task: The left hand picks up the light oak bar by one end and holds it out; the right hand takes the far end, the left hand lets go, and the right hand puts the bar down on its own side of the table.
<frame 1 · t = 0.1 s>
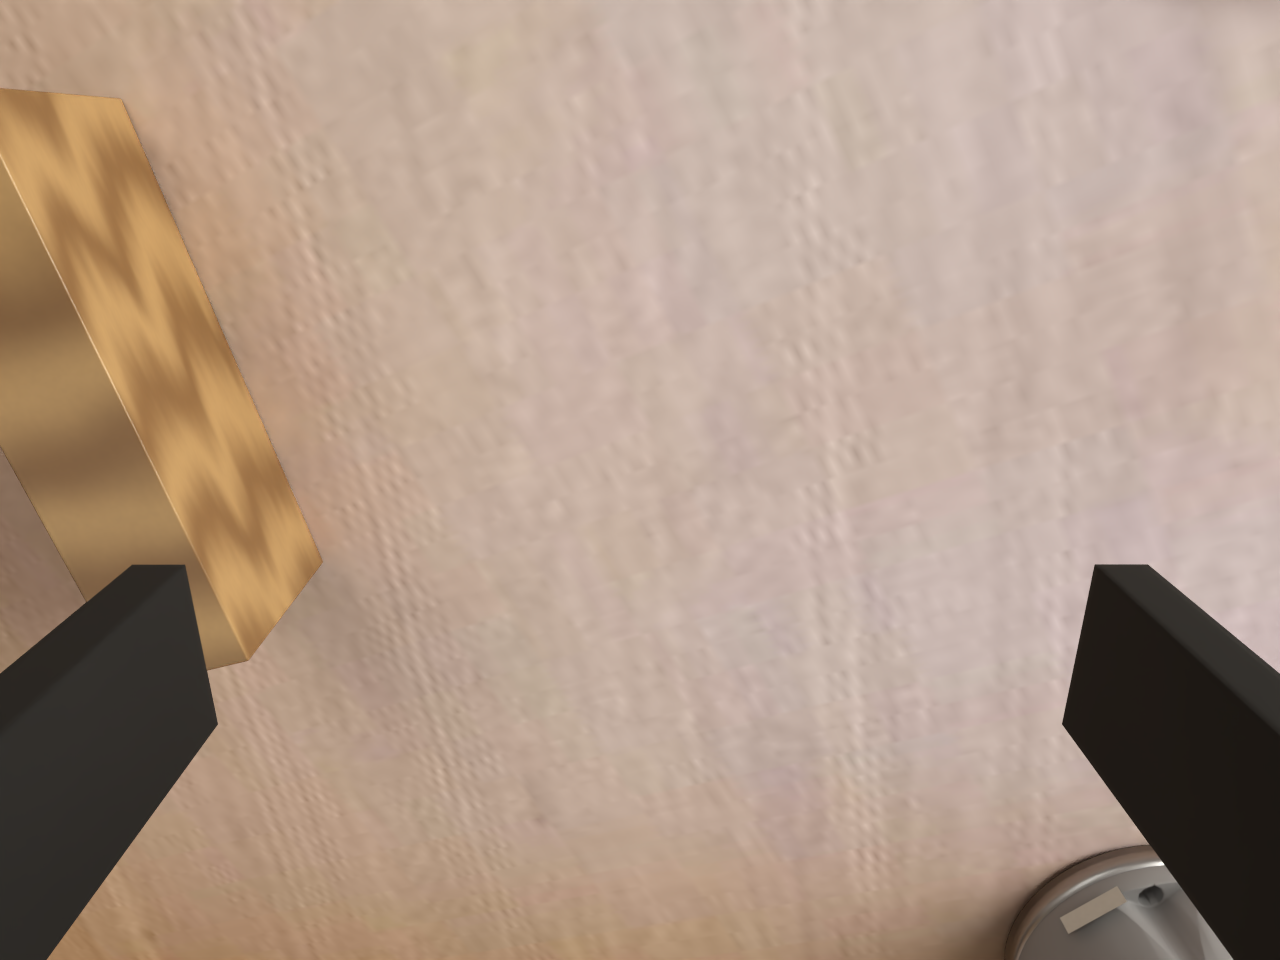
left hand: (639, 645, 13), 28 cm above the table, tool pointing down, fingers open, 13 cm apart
bar: (180, 366, 40), on the table
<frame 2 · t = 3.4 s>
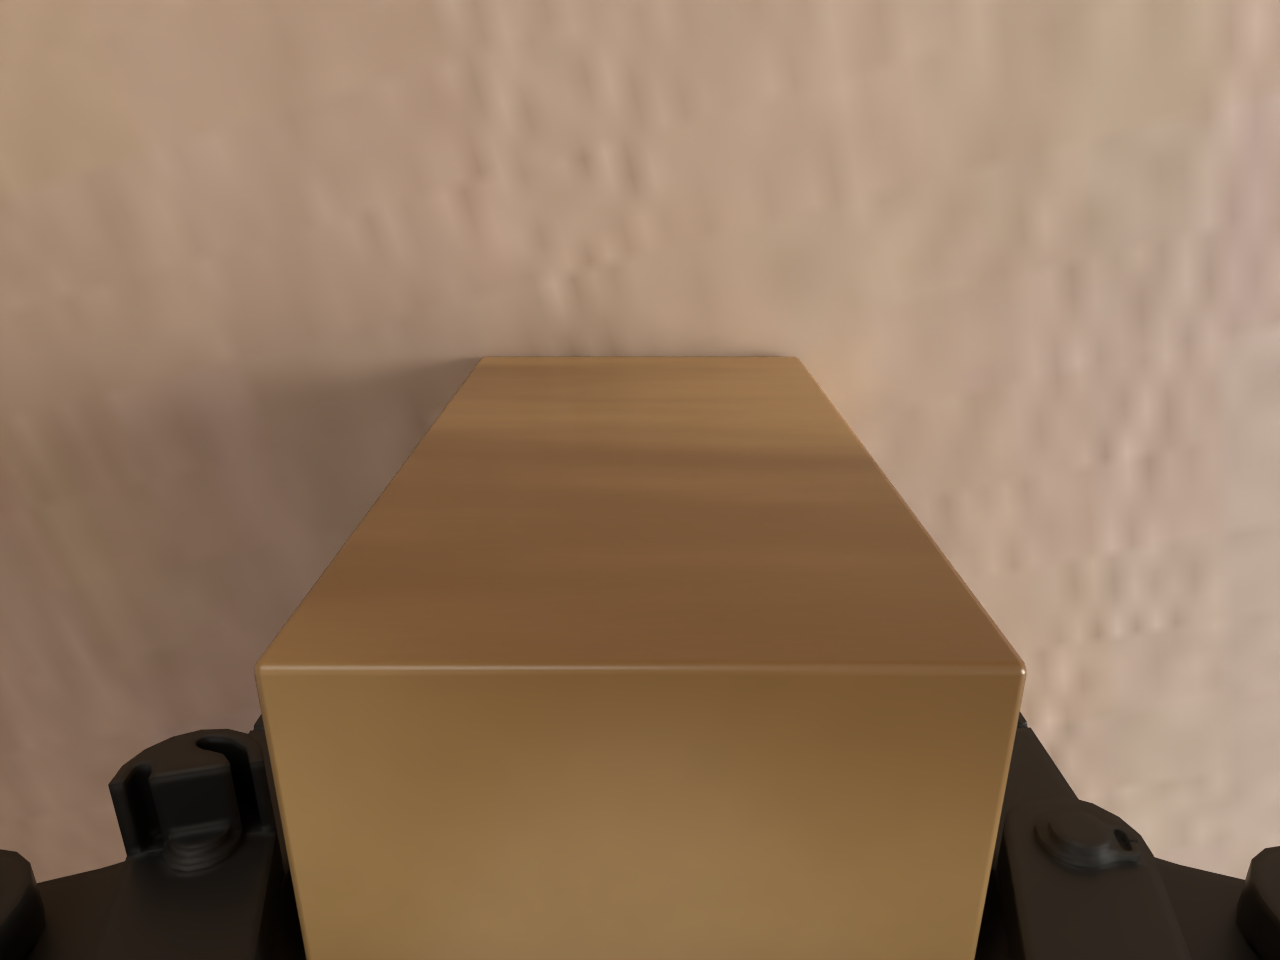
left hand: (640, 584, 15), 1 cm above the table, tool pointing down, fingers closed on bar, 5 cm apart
bar: (640, 884, 18), on the table, touching left hand
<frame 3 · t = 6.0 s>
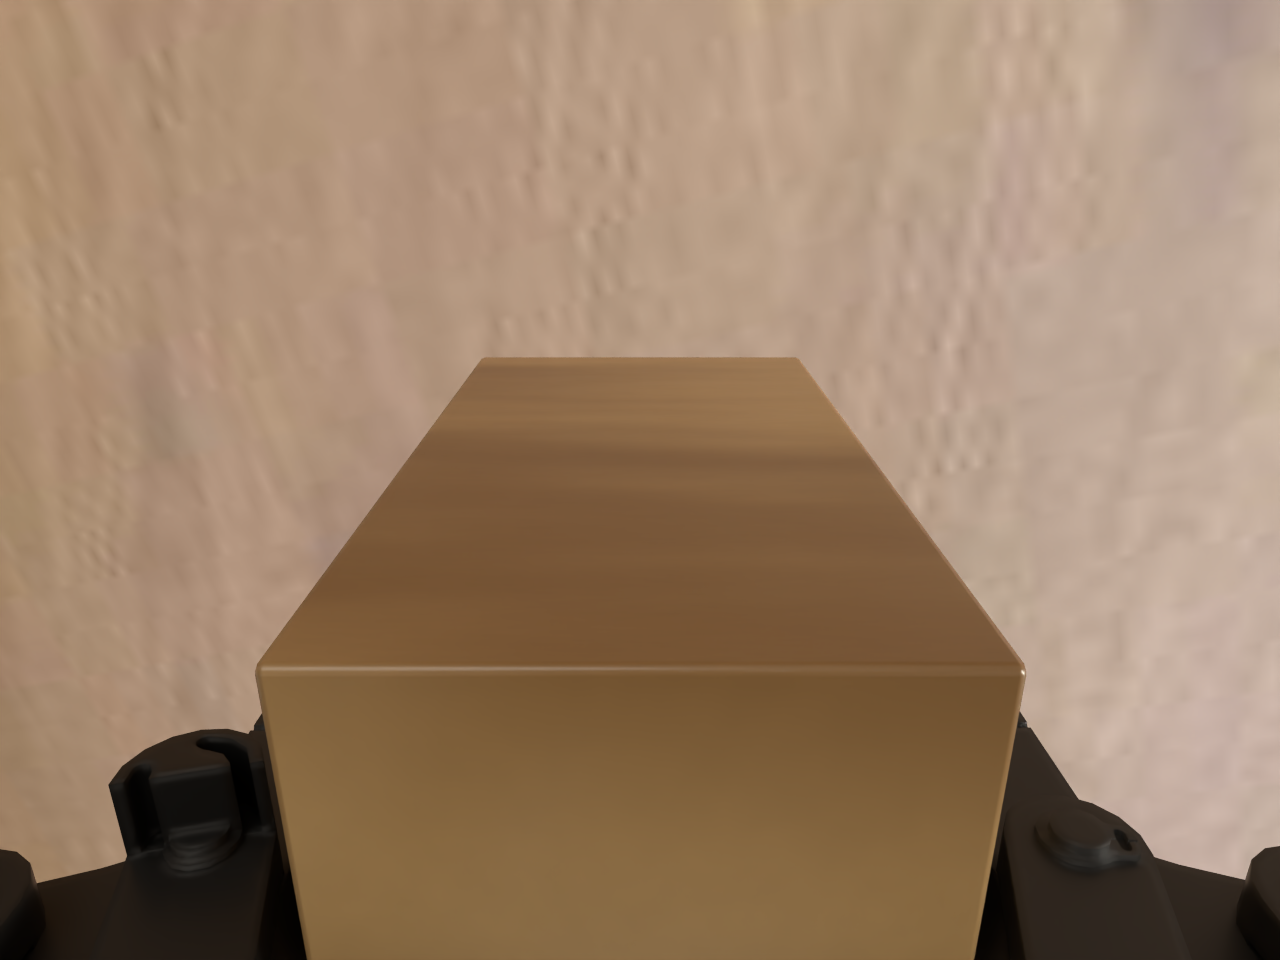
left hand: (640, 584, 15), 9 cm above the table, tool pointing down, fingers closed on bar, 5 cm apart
bar: (640, 884, 18), point 9 cm above the table, touching left hand
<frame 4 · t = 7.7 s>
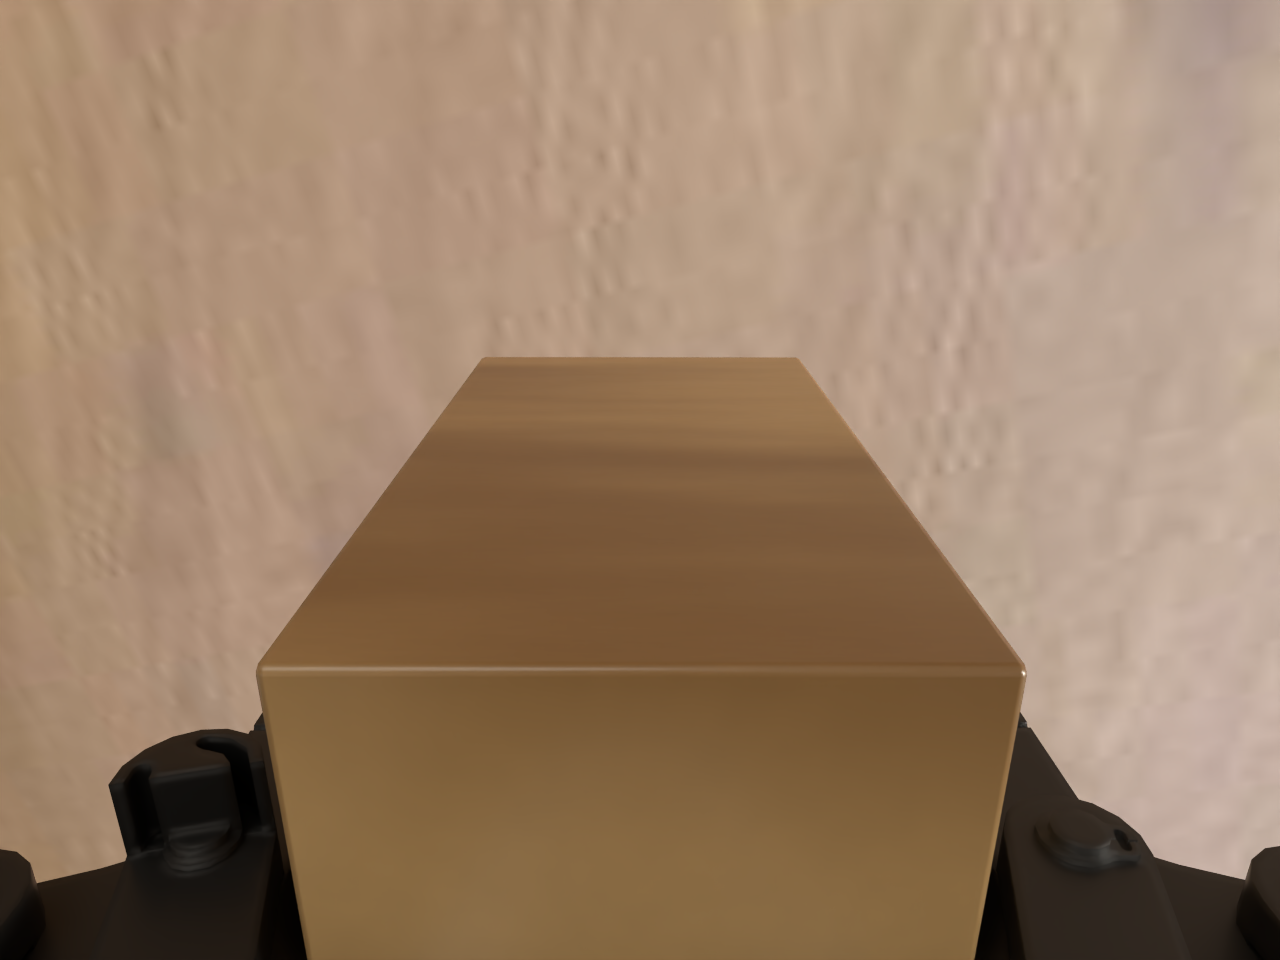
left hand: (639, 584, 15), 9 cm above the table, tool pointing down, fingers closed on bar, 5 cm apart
bar: (639, 884, 18), point 9 cm above the table, touching left hand, right hand
when the left hand's fingers open (9 cm above the table, at t = 8.5 s): bar stays where it is, held by the right hand.
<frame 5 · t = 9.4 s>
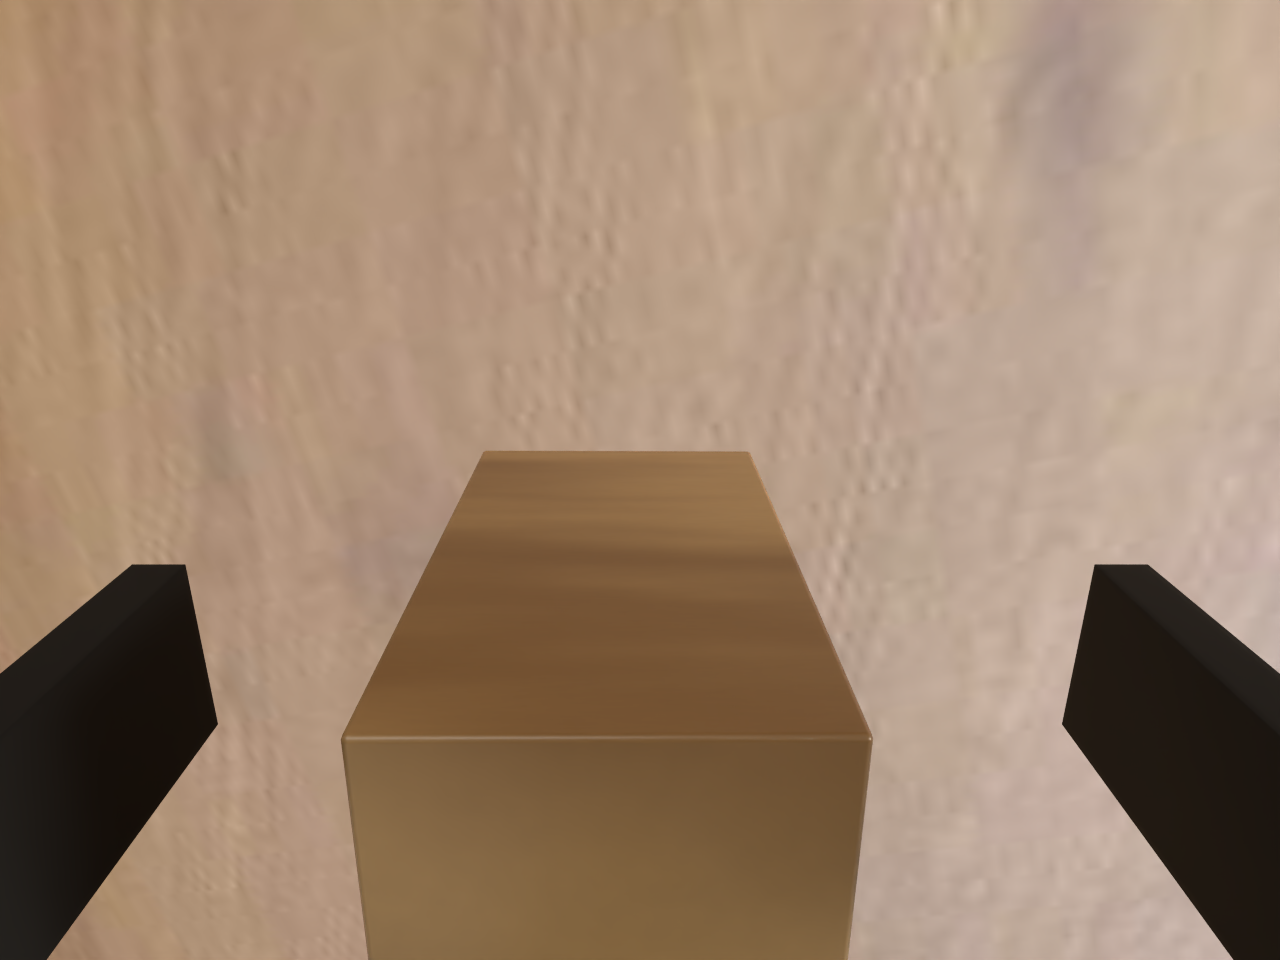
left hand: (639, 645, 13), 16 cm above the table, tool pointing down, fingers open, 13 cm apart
bar: (617, 900, 20), point 11 cm above the table, touching right hand
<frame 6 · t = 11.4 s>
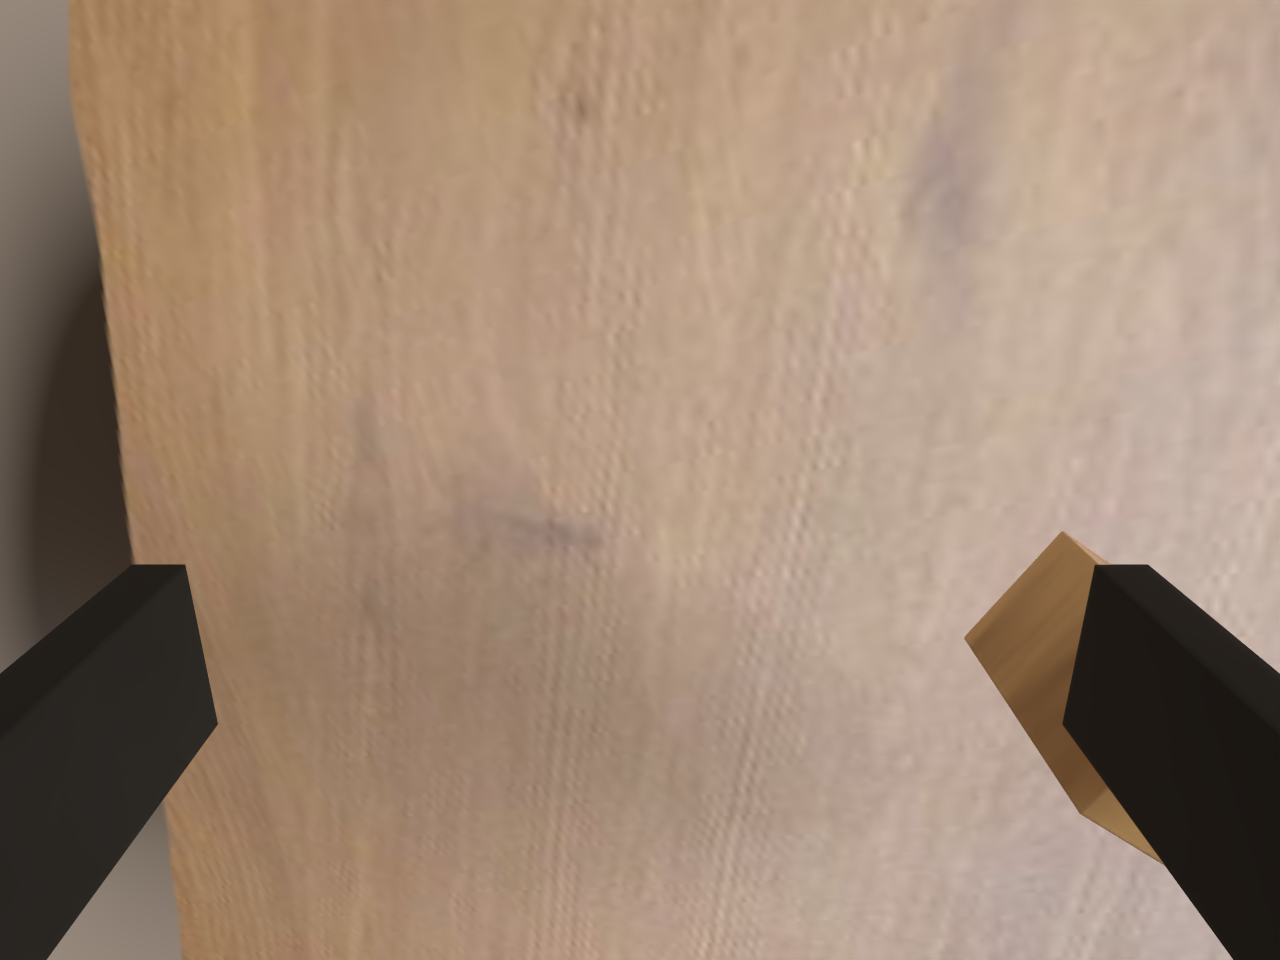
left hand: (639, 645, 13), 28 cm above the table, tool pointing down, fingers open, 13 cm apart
bar: (1228, 730, 33), point 12 cm above the table, touching right hand
when the right hand's fingers open (2 cm above the table, at t = 12.7 s): bar drops 2 cm, on the table.
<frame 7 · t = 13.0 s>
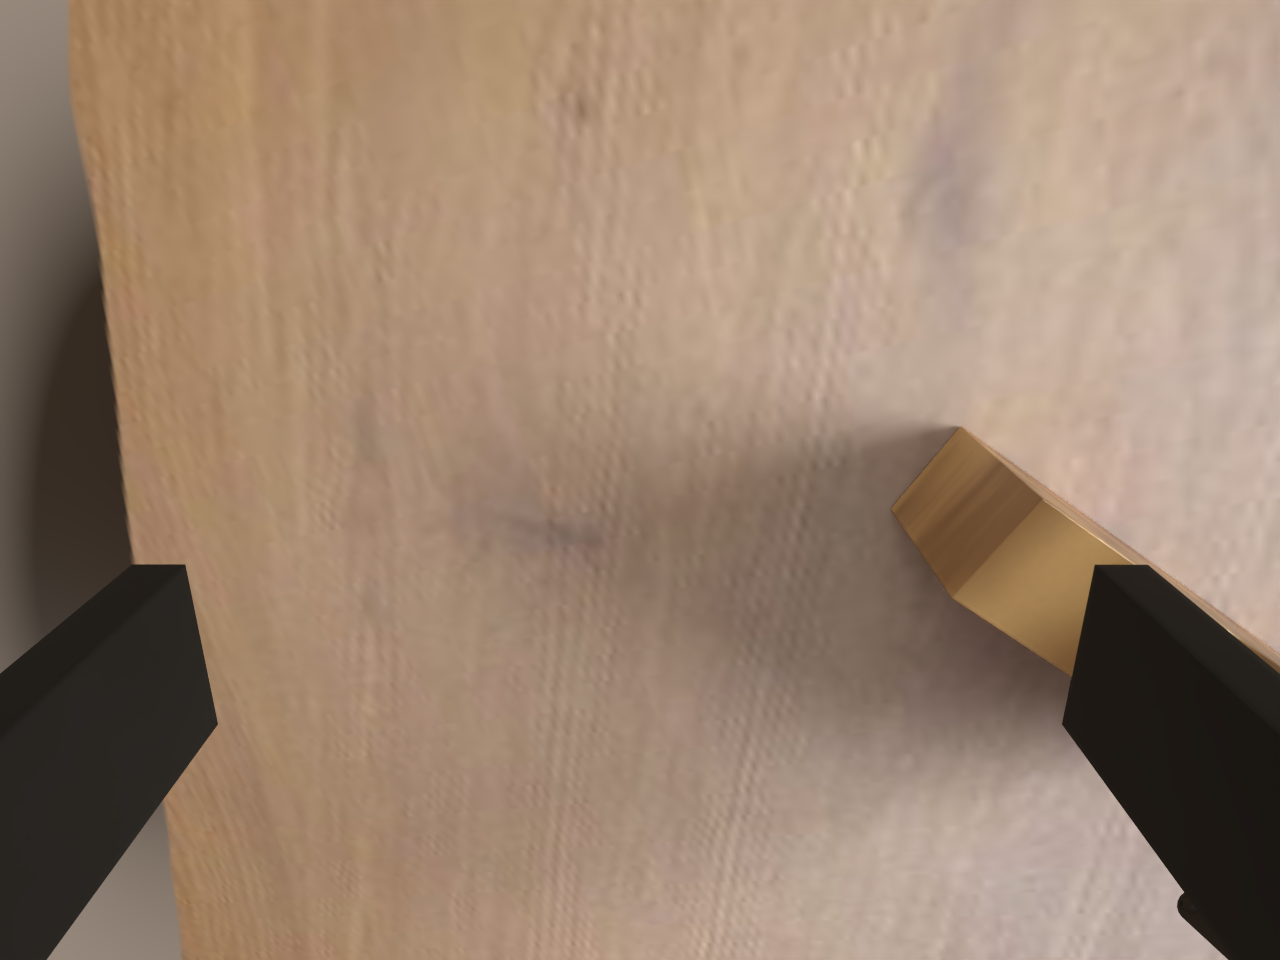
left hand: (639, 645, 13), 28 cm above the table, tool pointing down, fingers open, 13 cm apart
bar: (1091, 584, 44), on the table
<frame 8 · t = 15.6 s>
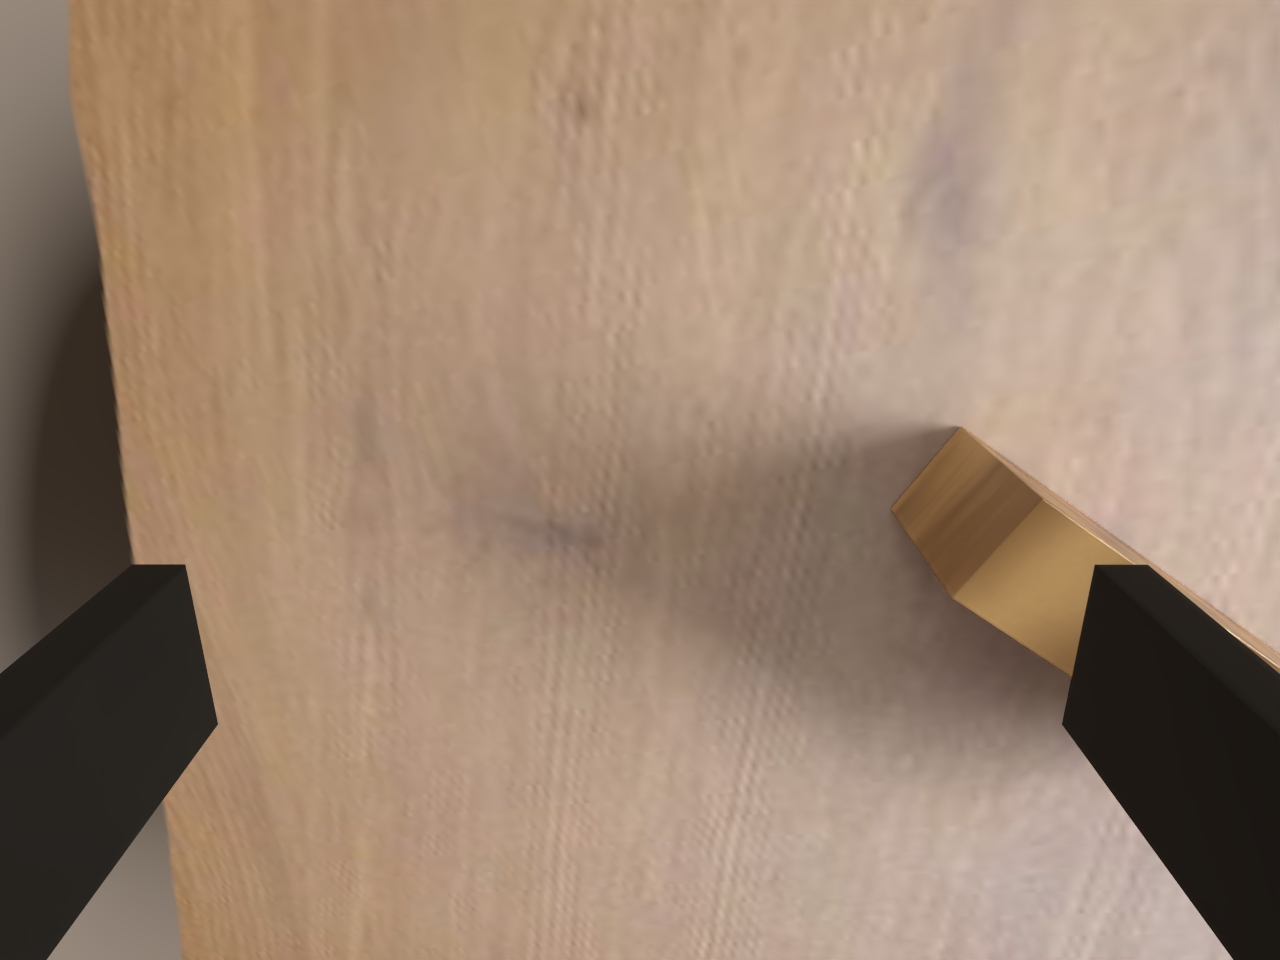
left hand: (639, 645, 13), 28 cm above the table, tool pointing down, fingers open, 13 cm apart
bar: (1091, 584, 44), on the table
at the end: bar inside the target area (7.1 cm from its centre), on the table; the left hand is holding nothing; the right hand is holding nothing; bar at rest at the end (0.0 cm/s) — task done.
